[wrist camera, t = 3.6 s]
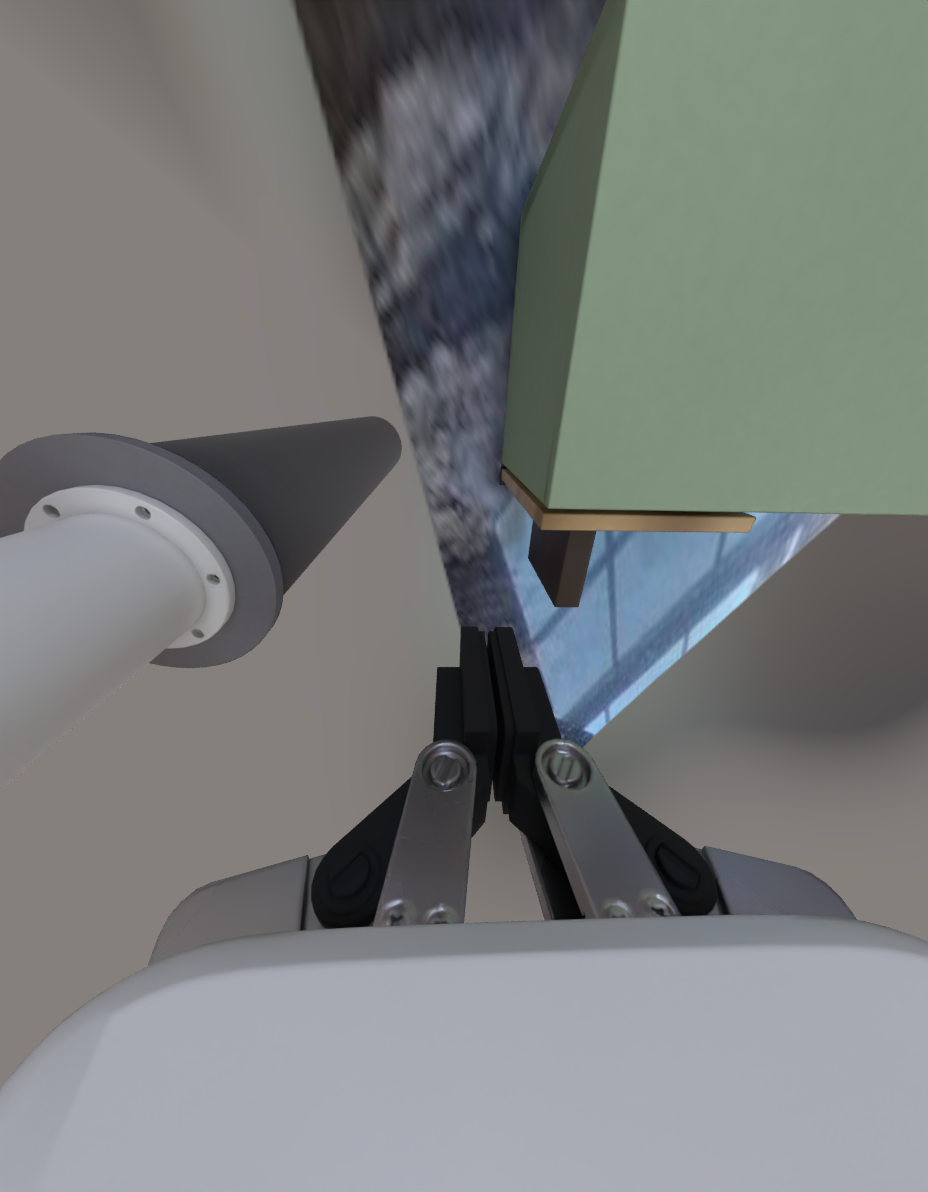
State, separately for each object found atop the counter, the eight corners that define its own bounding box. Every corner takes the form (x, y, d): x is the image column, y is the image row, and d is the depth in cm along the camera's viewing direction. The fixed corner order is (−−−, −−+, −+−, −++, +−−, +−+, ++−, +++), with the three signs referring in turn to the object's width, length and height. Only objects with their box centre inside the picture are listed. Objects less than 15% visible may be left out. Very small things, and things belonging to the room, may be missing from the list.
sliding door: (496, 534, 25) (528, 613, 15) (501, 468, 23) (543, 513, 13) (612, 535, 25) (712, 612, 16) (629, 471, 23) (757, 516, 14)
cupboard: (499, 483, 24) (542, 544, 13) (521, 213, 17) (641, -92, 7) (739, 488, 25) (953, 548, 14) (847, 236, 18) (1397, 1, 8)
